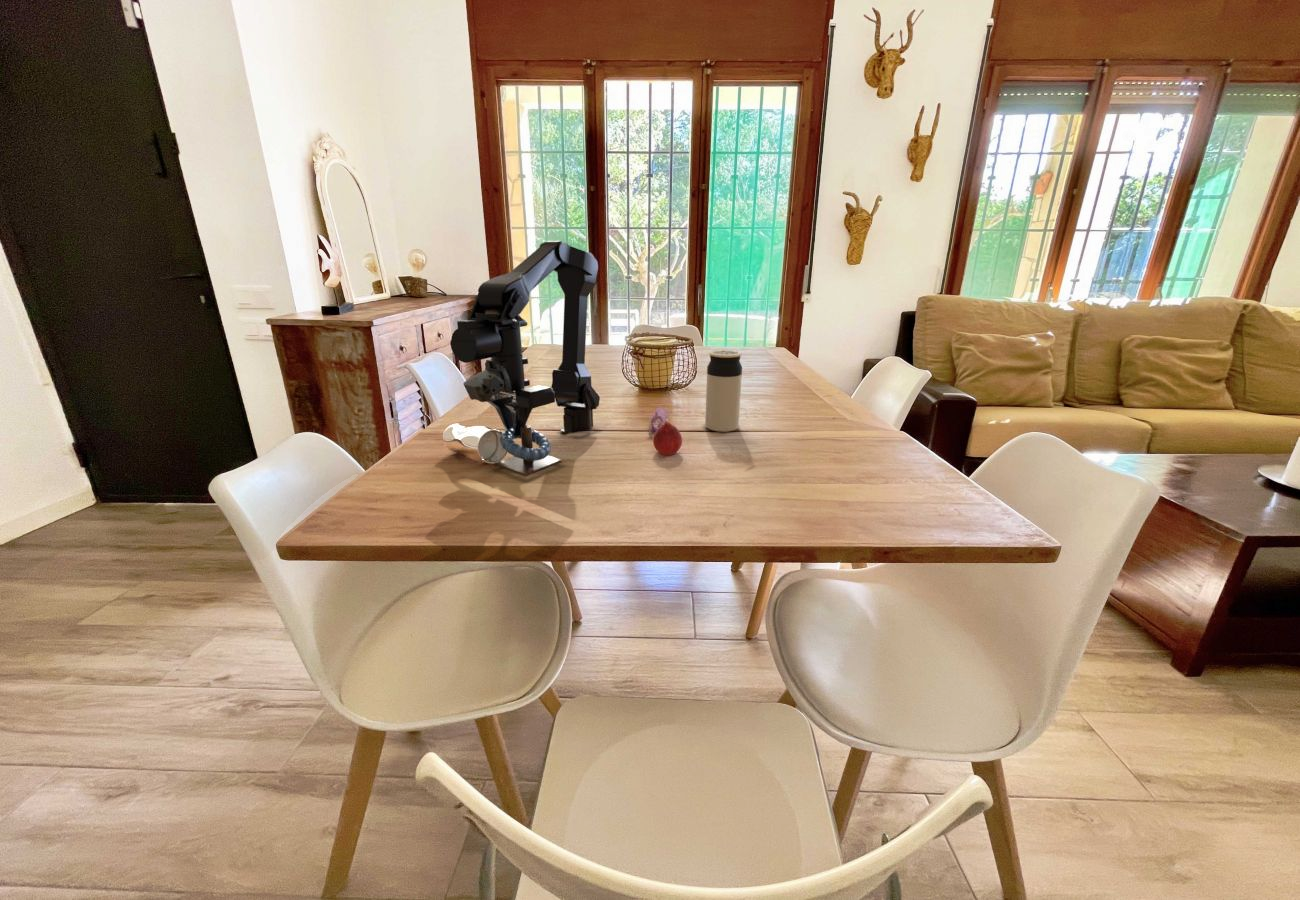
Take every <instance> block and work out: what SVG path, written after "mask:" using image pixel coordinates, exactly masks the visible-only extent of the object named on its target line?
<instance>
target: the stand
mask: <svg viewBox="0 0 1300 900" xmlns="http://www.w3.org/2000/svg"><path fill="white" fill-rule="evenodd" d="M531 429H532V426H531V425H528V424H526V425H525V426H521V427H520V432H521V438H520V439H521V441H520V443H521V446H522V447H526V448H530V449H534V445H533V442H532V433H531ZM562 462H563V459H560V458H558V457H555V456H552V455H548V456H547V457H545V458H544V459H541V460H536V461H533V460H524V459H520V458H517V457H515V456H513V455H512V456H511V457H508V458H506V459H505V458H504V459H502V460H501V461H500V462H498V463H494V466H496V467H498V468H501V469H504V470H507V471H509V472H513V473H515V474H517V475H521V476H524V477H529V476H531V475H534V474H536V473H538V472H540V471H544V470H545V469H548V468H550V467H553V466H555V465H558V464H560V463H562Z"/></svg>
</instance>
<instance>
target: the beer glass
mask: <svg viewBox="0 0 1300 900" xmlns="http://www.w3.org/2000/svg"><path fill="white" fill-rule="evenodd" d="M502 433H503V431H501V430H498V429H495V428H493V427H489V426H484V425H473V426H466V425H464V424H463V423H453V424H450V425H449V426H448V427H446V428H445V430H444V431H443V434H442V444H443V446H444V447H445V449H446V450H447V451H449V452H450V453H451V452H452V453H456V454H457V453H458V454H459V453H461V454H462V455H464V457H467V458H468V459H470V460H472V461H476V462H479V463H484V464H490V465H493V464H494V465H495V463H498V462H500V461H502V460H504V459H505V457H506V456H507V454H508V452H507V451H506V450H505V449H504V448H503V447H502V444H501V442H500V438H501V435H502Z"/></svg>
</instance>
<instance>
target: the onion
mask: <svg viewBox="0 0 1300 900" xmlns="http://www.w3.org/2000/svg"><path fill="white" fill-rule="evenodd" d="M654 432H655V433H653V438H652V444H653V447H654V448H655V450H656V451H657V452H658V453H659V454H660V455H662V456H672V455H675V454H677V452H679V450H680V449H681V447H682V445H683V437H682V434H681V432H680V429H678V428H677V426H675V425H674V424H672V423H671V421H670V420H669V419H666V421H665V423H664V425H662V426H661V427H660V428H659V429H658V430H657V431H654Z"/></svg>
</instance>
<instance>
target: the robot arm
mask: <svg viewBox="0 0 1300 900" xmlns="http://www.w3.org/2000/svg"><path fill="white" fill-rule="evenodd" d="M598 271H599V263H598V260H597V259H596V257H595V255H594V254H593V253H591V252H590V251H588V252H587V251H585V250H582V249H580V248H576V247H574V246H571V245H569V244H568V243H566V241H565V242H564V241H562V240H545V241H544V242H543V241H542V242H541V243H540V245H539V247H538V248H537V249H536V250H534V251H533V252H532V253H531V254H530V255H529V256H527V257H526V258H525V259H523V261H521V262H520V263H519V264H518V265H517V266H516V267H514V268H513V269H512V270H511V271H510V272H507V273H505V274H501V275H498V276H495V277H492V278H489V279H488V280H486V281H483V282H482V283H481V284H480V285H479V287H478V289H477V292H478V293H477V296H476V298H475V301H474V303H473V306H472V308H471V311H470V313H469V315H468V318H467V320H465V319H463V320H457V322H456V325H457V328H456V329H455V330H454V331H453V332H452V335H451V339H450V341H449V343H450V348H451V351H452V354H453V355H454V357H455V358H456V359H457V360H458V361H460V362H461V363H465V364H469V363H472V362H478V361H482V360H485V359H486V360H485V362H484V367H485V368H484V369H483V371H480V372H478V373H476V374H474V375H473V376H471V377H470V378H468V379H467V380H465V381H464V382H463V384H462V385H463V387H464V388H465V391H466V393H467V395H468V397H469V399H470V400H472V401H474V400H476V401H479V402H480V403H485V402H486V403H488V404H489V405H490V406H493V408H494V409H495V411H496V413H497V414H498V416H499V419H500V421H501V423H502V425H503V427H504V429H505V430H507V429H509V428H513V427H514V430H515V434H516V436H520V435H521V432H520V427H521V426H525V425H527V422H528V420H529V417H530V415H531V413H532V411H533V409H536V408H540V407H543V406H547V405H550V404H554V403H556V406H557V407H561V408H563V415H562V417H563V419H562V420H563V428H561V429H560V433H563V434H564V435H565V434H566V435H568V434H573V433H577V432H585V431H590V430H591V429H592V427H594V411H593V410H597V409H598V407H599V406H600V400H601V397H600V395H599V394H598V392H597V391H596V390H595V388H594V387H593V386H592V375H591V373H590V371H589V370H588V367H587V366H586V344H587V343H586V342H587V340H586V339H587V337H586V336H587V321H588V319H587V318H588V314H587V313H588V299H589V295H590V294H591V292H592V291H593V290H594V288H595V286H596V284H597V276H598ZM552 272H555V273H556V275H557V283H558V285H559V286H560V288H561V291H562V292H563V296H564V301H563V329H562V353H561V354H562V355H561V363H560V364H559V366H558V368H557V369H553V370H552V373H551V376H552V377H551V378H552V379H551V386H550V387H549V386H546V385H540V384H536V385H532V386H531V381H530V379H526V378H525V368H524V365H529V358H528V357H523V346H522V336H521V334H522V333H521V328H522V327H527V326H528V322H527V321H526V320H525V319H524V318H523V317H522V316H521V315H520V314H521V313H522V312H523V311H524V309H525V308H526V306H527V305H528V303H530V294H531V292H532V291H533V290H534V289H535V288H536V287H537V286H538V285H539V284H541V282H543V281H544V280H545V279H546V278H547V277H548V276H549V275H550V274H551V273H552Z"/></svg>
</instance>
